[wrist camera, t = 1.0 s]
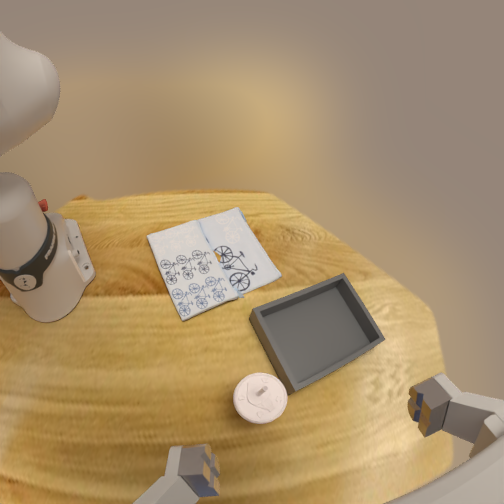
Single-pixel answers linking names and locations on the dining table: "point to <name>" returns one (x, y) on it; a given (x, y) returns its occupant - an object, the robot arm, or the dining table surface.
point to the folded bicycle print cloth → (211, 261)
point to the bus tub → (315, 331)
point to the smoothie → (260, 398)
